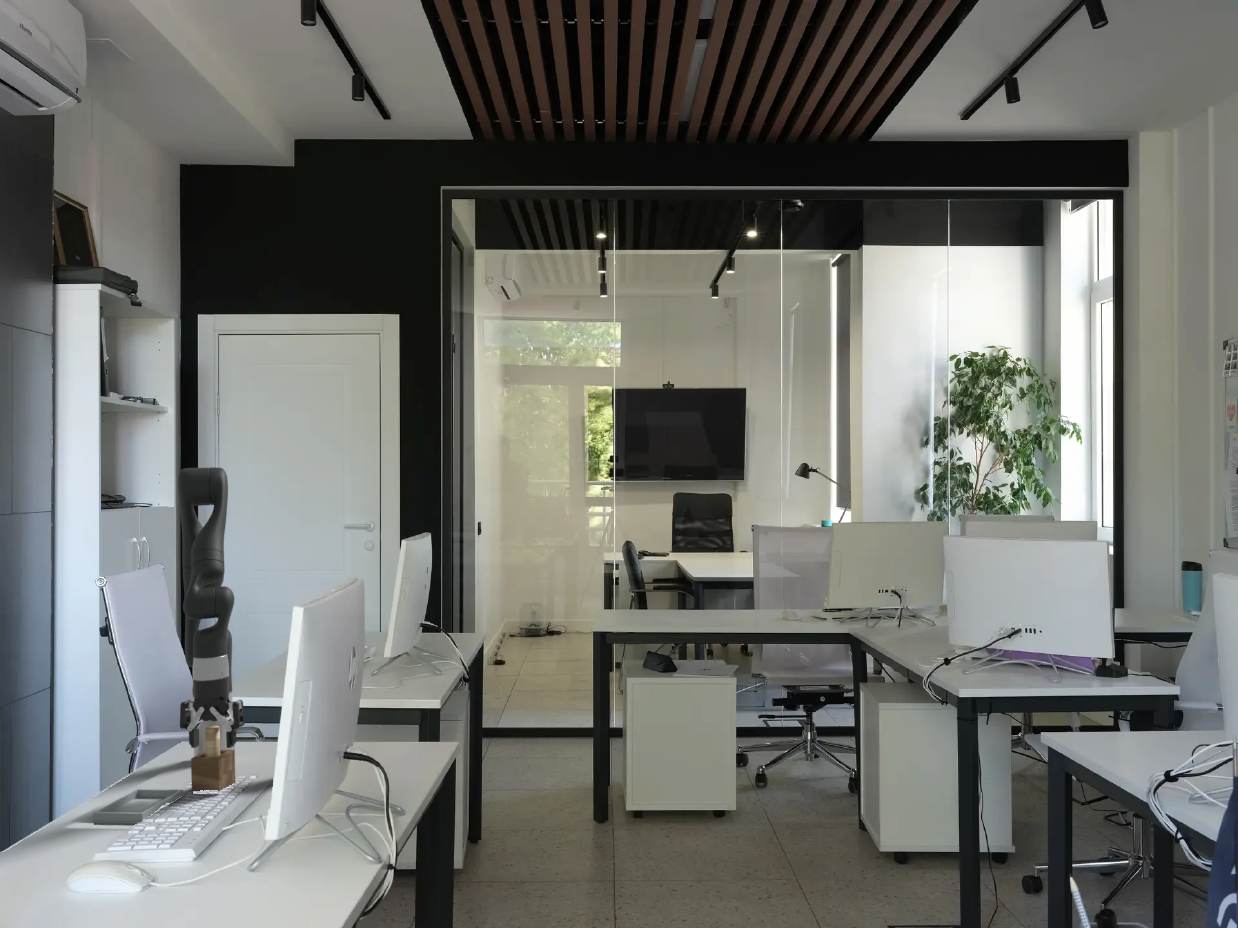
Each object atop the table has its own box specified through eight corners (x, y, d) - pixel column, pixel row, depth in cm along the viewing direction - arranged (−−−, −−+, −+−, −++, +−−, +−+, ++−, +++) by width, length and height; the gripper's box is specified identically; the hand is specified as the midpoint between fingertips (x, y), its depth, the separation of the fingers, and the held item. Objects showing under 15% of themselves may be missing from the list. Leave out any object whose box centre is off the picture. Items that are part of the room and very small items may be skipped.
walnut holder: (208, 788, 213) (207, 749, 213) (235, 788, 212) (234, 749, 212) (192, 798, 206) (190, 758, 206) (219, 799, 206) (218, 758, 206)
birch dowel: (211, 786, 211) (209, 725, 211) (223, 787, 211) (222, 725, 211) (204, 791, 208) (202, 729, 208) (216, 791, 208) (214, 729, 208)
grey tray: (137, 799, 207) (137, 788, 207) (183, 800, 205) (183, 789, 205) (93, 824, 192) (93, 812, 192) (142, 825, 191) (142, 813, 191)
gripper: (249, 671, 212) (251, 742, 212) (191, 671, 214) (192, 741, 214) (231, 678, 205) (233, 752, 205) (171, 679, 207) (173, 751, 206)
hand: (212, 746), depth 209 cm, fingers open, 8 cm apart
